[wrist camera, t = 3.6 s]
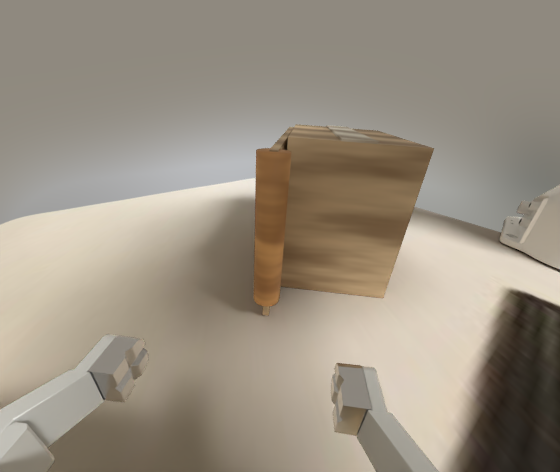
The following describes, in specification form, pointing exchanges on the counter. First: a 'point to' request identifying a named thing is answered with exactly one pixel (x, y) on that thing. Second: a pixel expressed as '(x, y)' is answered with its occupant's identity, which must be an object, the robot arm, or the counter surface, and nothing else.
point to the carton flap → (270, 220)
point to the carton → (348, 207)
